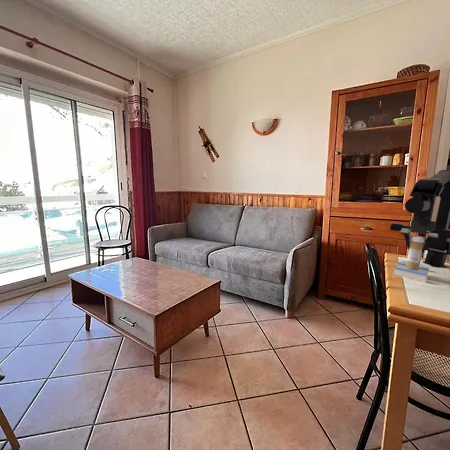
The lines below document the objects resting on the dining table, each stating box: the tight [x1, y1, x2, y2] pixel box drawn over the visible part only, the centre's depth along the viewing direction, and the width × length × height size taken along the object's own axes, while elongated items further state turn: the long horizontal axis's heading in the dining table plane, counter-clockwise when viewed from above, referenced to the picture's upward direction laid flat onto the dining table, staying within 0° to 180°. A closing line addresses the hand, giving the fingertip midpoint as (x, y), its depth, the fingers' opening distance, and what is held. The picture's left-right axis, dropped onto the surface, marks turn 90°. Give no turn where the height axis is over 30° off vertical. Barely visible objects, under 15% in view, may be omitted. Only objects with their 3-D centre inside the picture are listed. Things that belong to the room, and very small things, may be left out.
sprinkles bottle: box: [405, 235, 426, 271], centre depth 95 cm, size 5×5×13 cm
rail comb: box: [393, 258, 431, 283], centre depth 99 cm, size 19×10×3 cm, turn 137°
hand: (415, 251), depth 95 cm, fingers closed on sprinkles bottle, 4 cm apart
